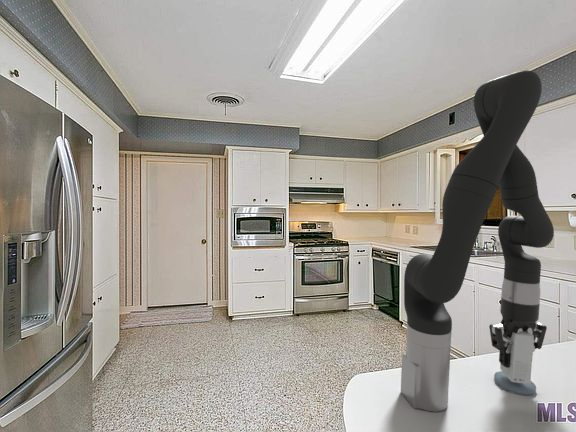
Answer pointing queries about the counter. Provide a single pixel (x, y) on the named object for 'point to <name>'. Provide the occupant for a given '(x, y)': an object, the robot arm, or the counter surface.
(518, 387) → the slate dish
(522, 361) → the skincare box
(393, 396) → the counter surface
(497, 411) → the counter surface
